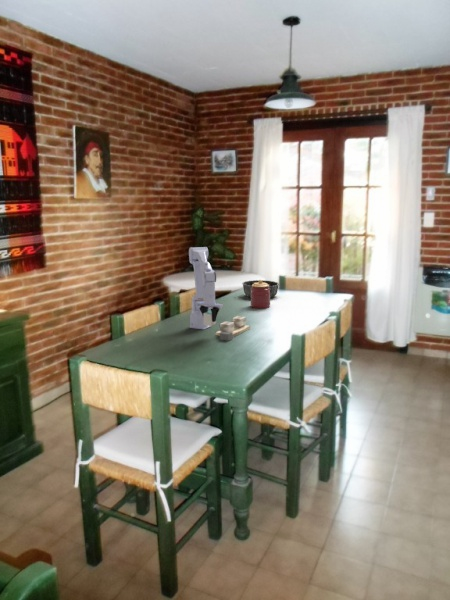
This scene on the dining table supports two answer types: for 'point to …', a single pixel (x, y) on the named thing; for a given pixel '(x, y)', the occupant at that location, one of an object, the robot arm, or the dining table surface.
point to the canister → (260, 295)
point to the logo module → (208, 318)
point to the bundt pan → (272, 285)
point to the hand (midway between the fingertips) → (209, 320)
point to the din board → (234, 326)
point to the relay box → (226, 336)
